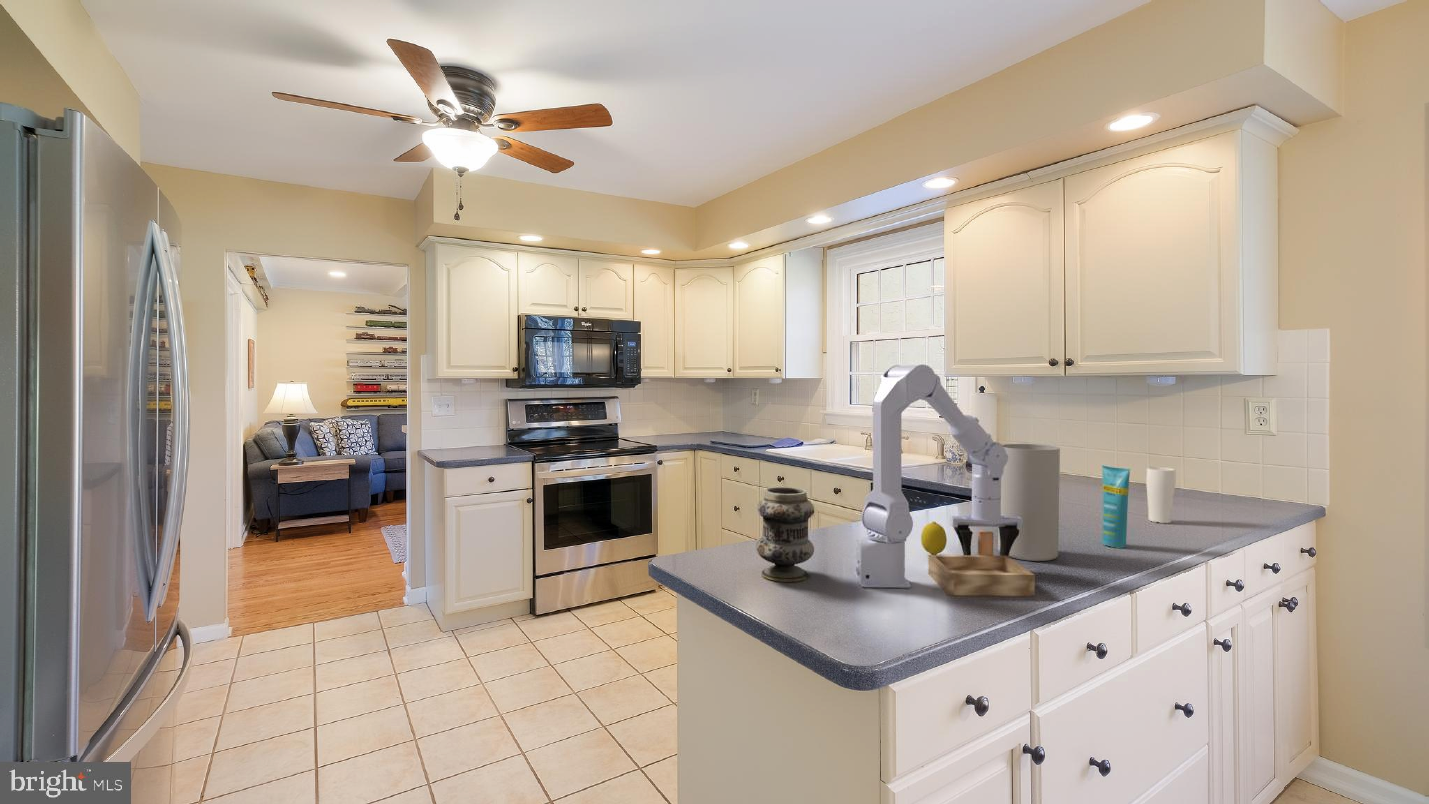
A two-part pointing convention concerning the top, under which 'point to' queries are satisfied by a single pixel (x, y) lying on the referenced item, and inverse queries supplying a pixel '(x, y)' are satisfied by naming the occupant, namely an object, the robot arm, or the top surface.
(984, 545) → the peg
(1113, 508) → the tube
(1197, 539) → the top surface
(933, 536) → the lemon
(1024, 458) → the cylinder vase
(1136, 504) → the top surface
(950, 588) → the box
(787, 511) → the apothecary jar
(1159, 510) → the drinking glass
